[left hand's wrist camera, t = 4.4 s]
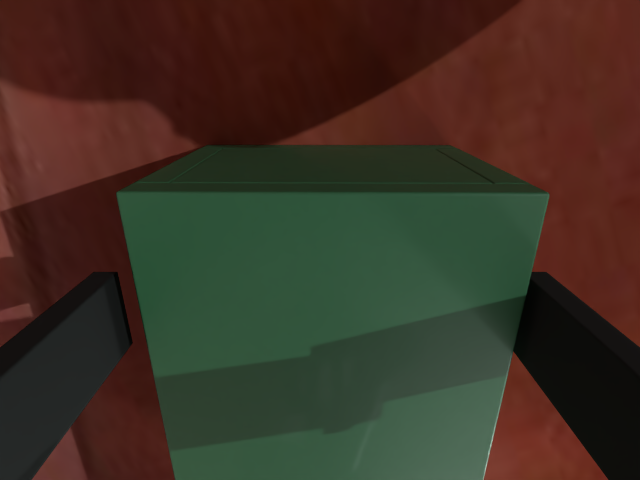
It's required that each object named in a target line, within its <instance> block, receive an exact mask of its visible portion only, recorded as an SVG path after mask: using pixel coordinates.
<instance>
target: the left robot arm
mask: <svg viewBox="0 0 640 480" xmlns="http://www.w3.org/2000/svg"><path fill="white" fill-rule="evenodd" d="M132 343H133V342H132V338H131V333H130V328H129V324H128V319H127V314H126V310H125V305H124V300H123V296H122V291H121V286H120V282H119V277H118V272H93V273H92V274H91V275H89V276H88V277H87V278H86V279H85V280H83V281H82V282H81V283H80V284H78V285H77V286H76V287H75V288H73V289H72V290H71V291H70V292H68V293H67V294H66V295H65V296H63V297H62V298H61V299H60V300H59V301H57V302H56V303H55V304H54V305H52V306H51V307H50V308H49V309H47V310H46V311H45V312H44V313H42V314H41V315H40V316H39V317H37V318H36V319H35V320H34V321H32V322H31V323H30V324H29V325H28V326H26V327H25V328H24V329H23V330H21V331H20V332H19V333H18V334H16V335H15V336H14V337H13V338H11V339H10V340H9V341H8V342H6V343H5V344H4V345H3V346H1V347H0V480H32V478H33V477H34V476H35V474H36V473H37V472H38V470H39V469H40V467H41V466H42V465H43V463H44V462H45V461H46V459H47V458H48V457H49V455H50V454H51V453H52V451H53V450H54V449H55V447H56V446H57V444H58V443H59V442H60V440H61V439H62V438H63V436H64V435H65V434H66V432H67V431H68V430H69V428H70V427H71V426H72V424H73V423H74V422H75V420H76V419H77V417H78V416H79V415H80V413H81V412H82V411H83V409H84V408H85V407H86V405H87V404H88V403H89V401H90V400H91V399H92V397H93V396H94V394H95V393H96V392H97V390H98V389H99V388H100V386H101V385H102V384H103V382H104V381H105V380H106V378H107V377H108V376H109V374H110V373H111V371H112V370H113V369H114V367H115V366H116V365H117V363H118V362H119V361H120V359H121V358H122V357H123V355H124V354H125V353H126V351H127V350H128V348H129V347H130V346H131V344H132ZM513 351H514V353H515V354H516V355H517V357H518V358H519V359H520V361H521V362H522V363H523V365H524V366H525V367H526V369H527V370H528V371H529V373H530V374H531V376H532V377H533V378H534V380H535V381H536V382H537V384H538V385H539V386H540V388H541V389H542V390H543V392H544V393H545V394H546V396H547V397H548V399H549V400H550V401H551V403H552V404H553V405H554V407H555V408H556V409H557V411H558V412H559V413H560V415H561V416H562V417H563V419H564V420H565V422H566V423H567V424H568V426H569V427H570V428H571V430H572V431H573V432H574V434H575V435H576V436H577V438H578V439H579V440H580V442H581V443H582V444H583V446H584V447H585V449H586V450H587V451H588V453H589V454H590V455H591V457H592V458H593V459H594V461H595V462H596V463H597V465H598V466H599V467H600V469H601V470H602V472H603V473H604V474H605V476H606V477H607V478H608V480H640V347H639V346H637V345H636V344H635V343H634V342H632V341H631V340H630V339H629V338H627V337H626V336H625V335H624V334H622V333H621V332H620V331H619V330H617V329H616V328H615V327H614V326H612V325H611V324H610V323H609V322H608V321H606V320H605V319H604V318H603V317H601V316H600V315H599V314H598V313H596V312H595V311H594V310H593V309H591V308H590V307H589V306H588V305H586V304H585V303H584V302H583V301H581V300H580V299H579V298H578V297H577V296H575V295H574V294H573V293H572V292H570V291H569V290H568V289H567V288H565V287H564V286H563V285H562V284H560V283H559V282H558V281H557V280H555V279H554V278H553V277H552V276H551V275H549V274H548V273H547V272H531V277H530V281H529V285H528V290H527V294H526V298H525V303H524V307H523V311H522V315H521V320H520V324H519V328H518V333H517V337H516V341H515V346H514V350H513Z"/></svg>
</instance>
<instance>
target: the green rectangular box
mask: <svg viewBox="0 0 640 480" xmlns="http://www.w3.org/2000/svg"><path fill="white" fill-rule="evenodd" d="M116 196H117V201H118V206H119V211H120V216H121V220H122V225H123V230H124V235H125V240H126V245H127V249H128V254H129V259H130V264H131V269H132V274H133V279H134V283H135V288H136V293H137V298H138V303H139V308H140V312H141V317H142V322H143V327H144V332H145V337H146V341H147V346H148V351H149V356H150V361H151V366H152V371H153V375H154V380H155V385H156V390H157V395H158V400H159V404H160V409H161V414H162V419H163V424H164V429H165V433H166V438H167V443H168V448H169V453H170V458H171V463H172V467H173V472H174V477H175V480H483V479H484V475H485V470H486V466H487V462H488V457H489V453H490V449H491V445H492V440H493V436H494V432H495V427H496V423H497V419H498V414H499V410H500V406H501V402H502V397H503V393H504V389H505V384H506V380H507V376H508V371H509V367H510V363H511V358H512V354H513V350H514V346H515V341H516V337H517V333H518V328H519V324H520V320H521V315H522V311H523V307H524V303H525V298H526V294H527V290H528V285H529V281H530V277H531V272H532V268H533V264H534V260H535V255H536V251H537V247H538V242H539V238H540V234H541V229H542V225H543V221H544V217H545V212H546V208H547V204H548V199H549V193H548V192H546V191H543V190H541V189H539V188H537V187H535V186H533V185H531V184H529V183H527V182H525V181H523V180H521V179H519V178H517V177H515V176H513V175H511V174H509V173H507V172H505V171H503V170H501V169H499V168H497V167H494V166H492V165H490V164H488V163H486V162H484V161H482V160H480V159H478V158H476V157H474V156H472V155H470V154H468V153H466V152H464V151H462V150H460V149H457V148H455V147H453V146H451V145H206V146H204V147H202V148H200V149H198V150H196V151H194V152H192V153H190V154H188V155H186V156H185V157H183V158H181V159H179V160H177V161H175V162H173V163H171V164H169V165H167V166H165V167H163V168H161V169H159V170H158V171H156V172H154V173H152V174H150V175H148V176H146V177H144V178H142V179H140V180H138V181H136V182H135V183H133V184H131V185H129V186H127V187H125V188H123V189H121V190H119V191H117V192H116Z"/></svg>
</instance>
